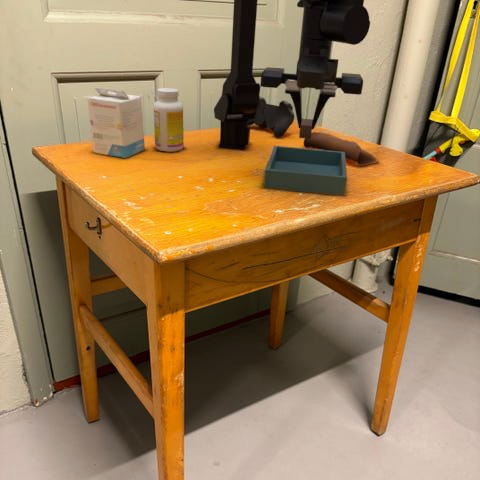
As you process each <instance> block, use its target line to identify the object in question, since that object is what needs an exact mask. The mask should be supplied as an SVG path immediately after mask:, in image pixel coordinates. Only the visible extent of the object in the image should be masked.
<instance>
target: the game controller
mask: <svg viewBox="0 0 480 480" xmlns="http://www.w3.org/2000/svg"><path fill="white" fill-rule="evenodd" d="M259 99H260V103H259V104H258V108H257V112H256V116H255V119H254V120H248V125H250V126H252V125H255V126H257V128H259V129H262V130H263V129H267V128H268V129H269V130H270V131H272V133H273V136H274V137H275V138H277V139H281V138H282V137H283V136H285V134H286V133H287V132H288V130H289V128H290V127H291V126H292V125H293V123H294V121H295V112H294V111H293V110H294V106H293V104H292V103H290V102H288V101H287V100H283V99H282V100H281V101H280V102H279V104H278V105H275V104H272V103H271V104H270V103H267V100H266V98H264V97H263V96H261V95H259Z"/></svg>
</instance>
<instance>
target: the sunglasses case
mask: <svg viewBox="0 0 480 480" xmlns="http://www.w3.org/2000/svg"><path fill="white" fill-rule="evenodd" d="M303 148H306V149H308V148H312V149H317V150H328V151H339V152H345V159H346V160H349V161H352V162H354V163H357V164H358V166H359V167H367V166H370V165H375V164H377V163H379V159H378V158H377V157H376V156H374V155H373V154H371V153H370V152H369V151H366V150H364V149H363V148H362V147H361V146H360V145H359V144H358V143H357V142H356V141H354V140H353V141H351V140H348V139H343V138H340V137H338V136H336V135H333V134H330V133H326V132H321V131H320V132H319V131H318V132H316V131H314V132H311V139H305V138H303Z"/></svg>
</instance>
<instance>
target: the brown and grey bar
mask: <svg viewBox="0 0 480 480" xmlns="http://www.w3.org/2000/svg"><path fill="white" fill-rule="evenodd" d="M312 122H313V118H302V121H301V125H300V128H299V135H298V138H299V139H311V133H312V131H313V129H312Z"/></svg>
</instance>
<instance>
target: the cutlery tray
mask: <svg viewBox="0 0 480 480" xmlns="http://www.w3.org/2000/svg"><path fill="white" fill-rule="evenodd" d="M263 180H264V181H263V188H264V189H268V190H269V189H270V190H279V191H280V190H281V191H291V192H299V193H300V192H302V193H312V194H322V195H332V196H342V197H344V196H345V191H346V186H347V180H348V174H347V162H346V158H345V152H339V151H328V150H323V149H317V148H306V147H294V146H284V145H280V146H279V145H274V146H273V148H272V150H271V153H270V156H269V159H268V161H267V164H266V167H265V170H264V179H263Z"/></svg>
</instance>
